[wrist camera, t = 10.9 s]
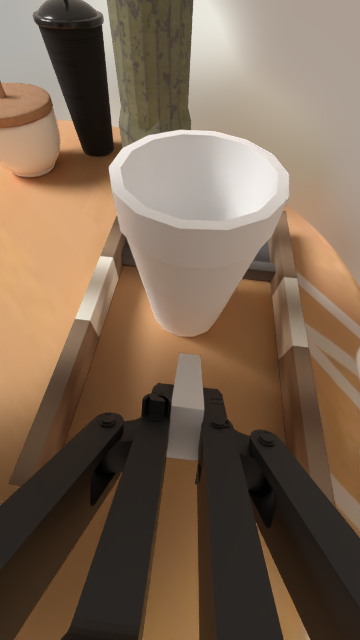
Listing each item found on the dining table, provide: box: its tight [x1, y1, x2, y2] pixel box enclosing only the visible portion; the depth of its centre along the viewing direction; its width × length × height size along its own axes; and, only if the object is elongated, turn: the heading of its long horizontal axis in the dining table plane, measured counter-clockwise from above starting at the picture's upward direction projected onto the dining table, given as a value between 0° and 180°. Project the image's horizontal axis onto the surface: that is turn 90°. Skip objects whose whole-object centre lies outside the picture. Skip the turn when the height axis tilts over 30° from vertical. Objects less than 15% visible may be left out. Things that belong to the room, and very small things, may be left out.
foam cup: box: [109, 130, 289, 337], centre depth 18 cm, size 10×9×13 cm
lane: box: [9, 211, 335, 507], centre depth 22 cm, size 28×18×3 cm, turn 173°
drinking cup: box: [33, 0, 114, 156], centre depth 31 cm, size 8×8×20 cm
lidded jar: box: [0, 82, 60, 177], centre depth 32 cm, size 11×11×9 cm
